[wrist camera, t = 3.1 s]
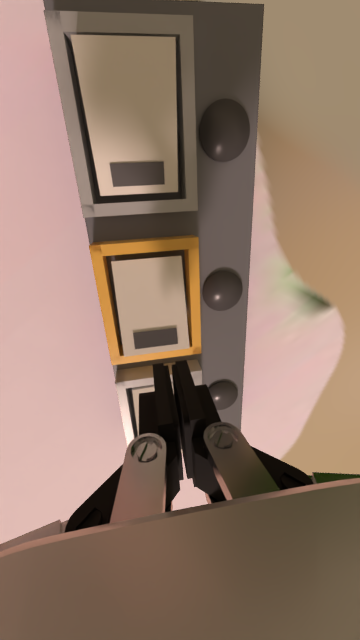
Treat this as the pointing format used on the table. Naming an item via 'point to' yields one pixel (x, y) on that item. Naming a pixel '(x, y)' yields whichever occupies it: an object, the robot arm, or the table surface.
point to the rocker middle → (151, 305)
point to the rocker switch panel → (193, 183)
